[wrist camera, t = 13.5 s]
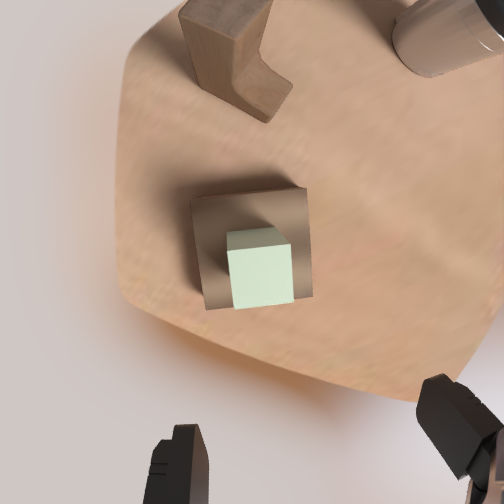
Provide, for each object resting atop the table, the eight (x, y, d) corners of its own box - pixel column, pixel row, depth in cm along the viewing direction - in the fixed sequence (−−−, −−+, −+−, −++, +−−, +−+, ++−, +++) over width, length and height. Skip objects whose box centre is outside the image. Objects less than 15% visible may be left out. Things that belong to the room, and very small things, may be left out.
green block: (226, 232, 32) (227, 250, 24) (275, 226, 32) (290, 243, 25) (231, 278, 33) (234, 309, 26) (278, 272, 34) (293, 302, 26)
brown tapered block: (193, 197, 35) (189, 200, 31) (298, 186, 36) (306, 188, 32) (207, 296, 38) (205, 310, 34) (304, 284, 39) (312, 296, 35)
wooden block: (286, 94, 32) (339, 29, 15) (266, 125, 33) (305, 78, 16) (219, 57, 31) (215, -32, 13) (198, 87, 31) (174, 13, 14)
